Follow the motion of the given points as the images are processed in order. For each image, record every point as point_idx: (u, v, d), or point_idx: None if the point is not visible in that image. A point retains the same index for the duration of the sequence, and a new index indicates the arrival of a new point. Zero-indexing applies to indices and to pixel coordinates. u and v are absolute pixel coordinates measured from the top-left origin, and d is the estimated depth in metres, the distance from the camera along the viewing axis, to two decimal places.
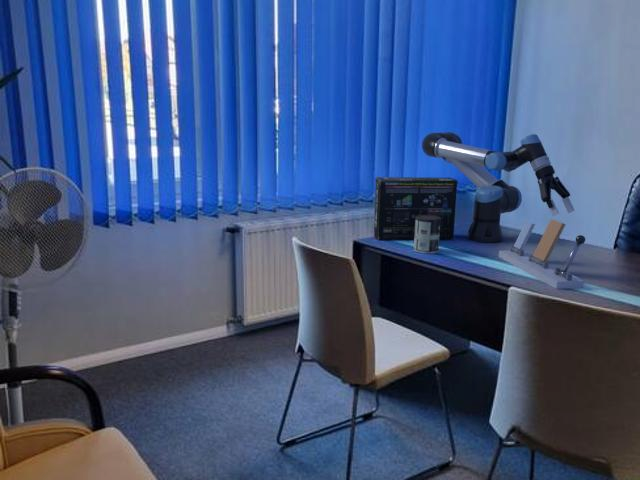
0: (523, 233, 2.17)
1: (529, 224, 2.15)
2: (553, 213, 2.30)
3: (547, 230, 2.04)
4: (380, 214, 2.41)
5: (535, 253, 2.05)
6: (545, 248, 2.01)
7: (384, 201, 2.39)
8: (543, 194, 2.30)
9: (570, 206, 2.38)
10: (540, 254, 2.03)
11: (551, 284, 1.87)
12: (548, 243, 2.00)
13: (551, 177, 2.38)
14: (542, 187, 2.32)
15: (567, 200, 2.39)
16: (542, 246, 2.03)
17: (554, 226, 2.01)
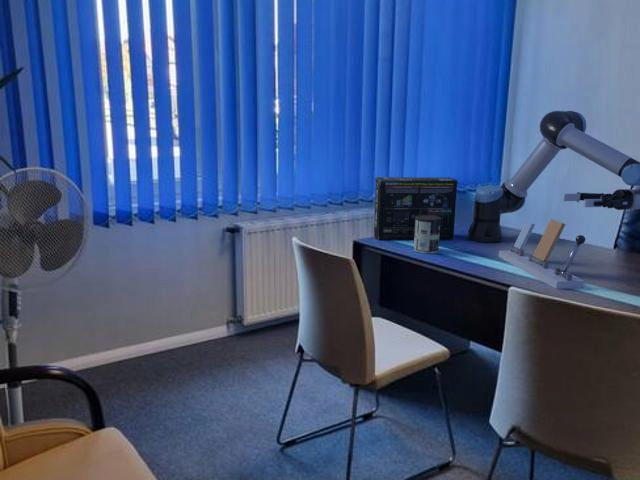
0: (523, 233, 2.17)
1: (529, 224, 2.15)
2: (587, 202, 1.94)
3: (547, 230, 2.04)
4: (380, 214, 2.41)
5: (535, 253, 2.05)
6: (545, 248, 2.01)
7: (384, 201, 2.39)
8: (613, 204, 1.93)
9: (569, 199, 2.06)
10: (540, 254, 2.03)
11: (551, 284, 1.87)
12: (548, 243, 2.00)
13: None
14: (619, 203, 1.95)
15: (576, 199, 2.06)
16: (542, 246, 2.03)
17: (554, 226, 2.01)
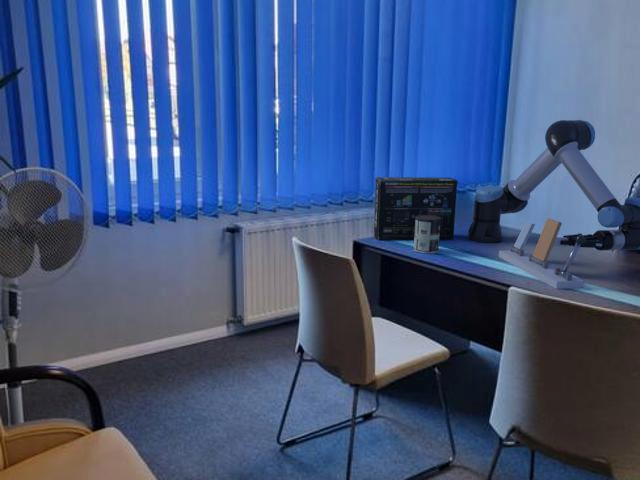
0: (523, 233, 2.17)
1: (529, 224, 2.15)
2: None
3: (544, 229, 2.03)
4: (380, 214, 2.41)
5: (534, 253, 2.05)
6: (543, 247, 2.01)
7: (384, 201, 2.39)
8: None
9: None
10: (539, 254, 2.02)
11: (551, 284, 1.87)
12: (546, 243, 2.00)
13: None
14: (589, 244, 1.99)
15: None
16: (541, 245, 2.03)
17: (551, 225, 2.00)
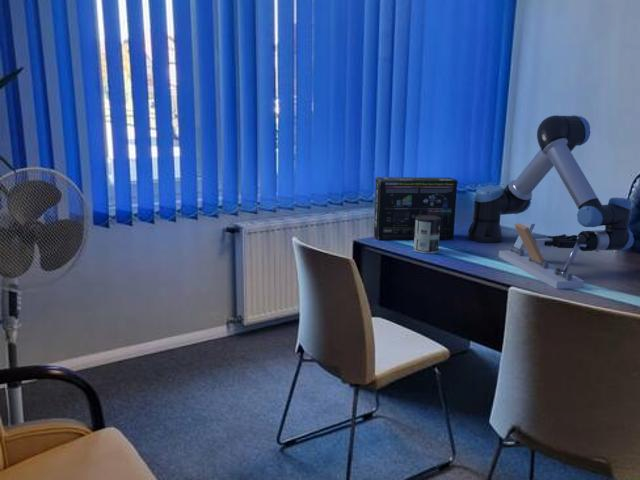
0: None
1: (529, 224, 2.15)
2: (538, 242, 2.00)
3: (520, 235, 2.02)
4: (380, 214, 2.41)
5: (530, 255, 2.05)
6: (532, 251, 2.01)
7: (384, 201, 2.39)
8: (564, 245, 1.99)
9: None
10: (534, 257, 2.02)
11: (551, 284, 1.87)
12: (531, 247, 2.00)
13: None
14: (574, 245, 1.99)
15: None
16: (529, 249, 2.02)
17: (522, 232, 1.99)
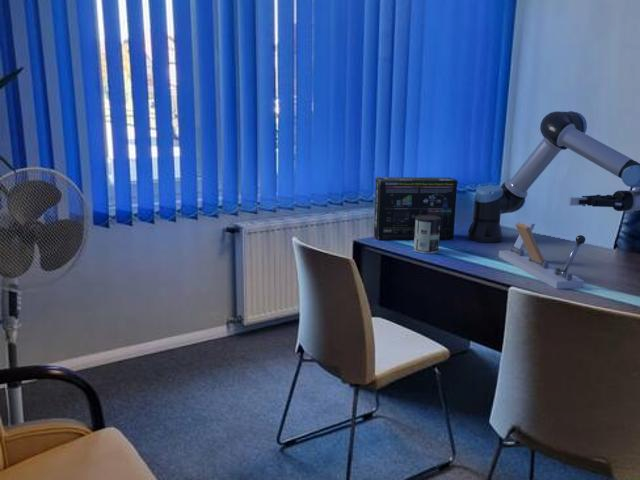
0: None
1: (529, 224, 2.15)
2: (572, 200, 1.99)
3: (521, 234, 2.02)
4: (380, 214, 2.41)
5: (530, 255, 2.05)
6: (533, 251, 2.01)
7: (384, 201, 2.39)
8: (599, 203, 1.98)
9: None
10: (534, 257, 2.02)
11: (551, 284, 1.87)
12: (531, 247, 2.00)
13: None
14: (608, 203, 1.97)
15: None
16: (530, 249, 2.02)
17: (522, 231, 1.99)
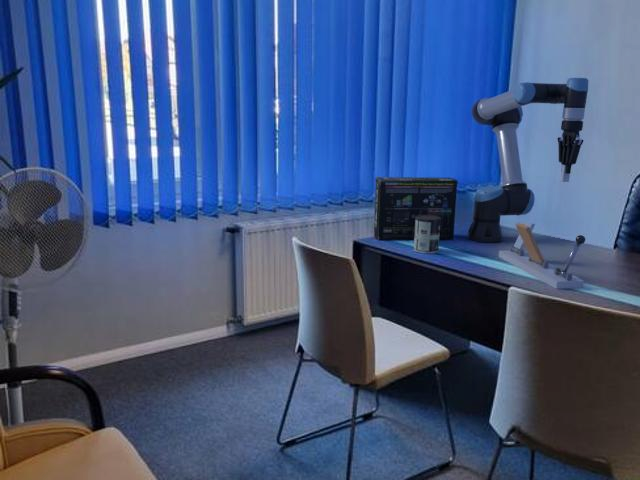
0: None
1: (529, 224, 2.15)
2: (564, 179, 2.16)
3: (521, 234, 2.02)
4: (380, 214, 2.41)
5: (530, 255, 2.05)
6: (533, 251, 2.01)
7: (384, 201, 2.39)
8: (574, 159, 2.11)
9: None
10: (534, 257, 2.02)
11: (551, 284, 1.87)
12: (531, 247, 2.00)
13: None
14: (576, 150, 2.09)
15: None
16: (530, 249, 2.02)
17: (522, 231, 1.99)
